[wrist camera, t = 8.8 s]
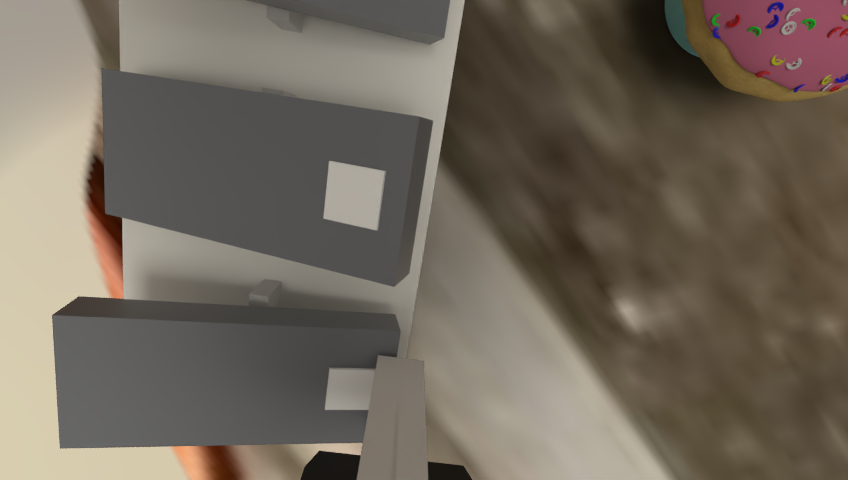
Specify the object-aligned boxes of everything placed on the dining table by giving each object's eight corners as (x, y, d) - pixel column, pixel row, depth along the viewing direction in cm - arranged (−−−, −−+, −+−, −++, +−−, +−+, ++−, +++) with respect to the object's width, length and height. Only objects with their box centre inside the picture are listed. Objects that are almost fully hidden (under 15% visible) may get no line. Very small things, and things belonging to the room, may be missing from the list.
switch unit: (197, -136, 16) (60, -312, 10) (468, -82, 16) (503, -211, 10) (186, 346, 20) (89, 439, 14) (396, 371, 21) (390, 470, 15)
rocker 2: (78, 296, 12) (49, 316, 11) (395, 313, 14) (401, 332, 13) (84, 419, 13) (58, 451, 11) (379, 417, 15) (383, 444, 14)
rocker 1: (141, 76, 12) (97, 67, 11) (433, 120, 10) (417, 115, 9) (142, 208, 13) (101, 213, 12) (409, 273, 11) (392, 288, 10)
